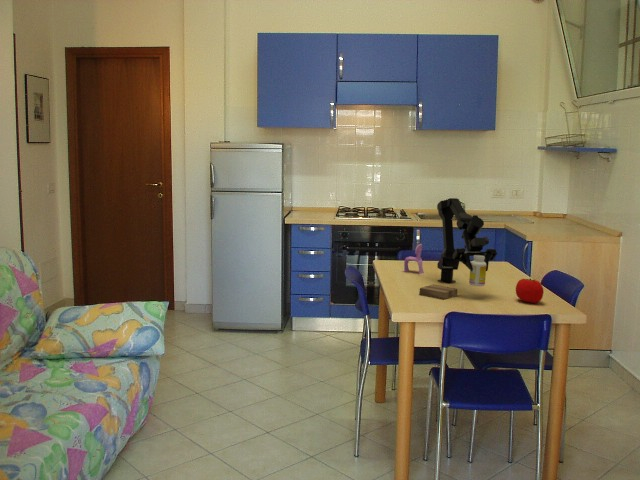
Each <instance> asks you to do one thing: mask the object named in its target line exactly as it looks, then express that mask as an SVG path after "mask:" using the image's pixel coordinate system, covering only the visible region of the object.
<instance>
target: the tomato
mask: <svg viewBox="0 0 640 480" xmlns="http://www.w3.org/2000/svg"><path fill="white" fill-rule="evenodd" d="M515 294H516V296H517V297H518V299H519V300H520V301H522V302H525V303H529V304H537V303H540V302H541V300H542V299H543V296H544V287H543V285H542V283H541V282H540V281H538V280H537V278H536V279H531V278H521V279H519V280H518V281H517V283H516V285H515Z"/></svg>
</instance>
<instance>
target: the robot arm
mask: <svg viewBox="0 0 640 480" xmlns="http://www.w3.org/2000/svg"><path fill="white" fill-rule="evenodd" d="M436 209H437V213H438V215H439V217H440V218H441V221H442V235H443V237H442V238H443V239H442V240H443V250H442V252H441V254H440V258H439V260H438V261H437V264H436V265H437V269H438V270H441V272H440V279H437V282H441V283H445V284H451V283H452V284H453V283H456V280H454V271H458V269H459V265H460V263H462V264H463V265H465V267H467V269H469V271H470V270H471V271H472V270H473V269H472V265H471V262H472V261H471V259H470V257H473V258H474V255H483V256H485V259H484V262H485V263H486V272H488V271H489V263H490V261H494V260H495V258H496V257H497V255H498V251H497V249H496V248H486V251H481V250H484V247H485V246H486V245H487V246H488V245H489V243H490V240H489V237H488V236H484V237H478V236H477V235H478V234H479V233H480V231H481V230H482V228H483V227H484V224H485V221H484V220H483V219H482V218H480V217H478V215H476V214H475V215H474V214H473V215H471V214H469V213H467V212H466V210H465V208H464V207H463V205H462V204H461V202H460V199H459V198H457V197H456V198H455V197H450V198H447V199H443V200H440V201H439V202H438V203H437V205H436ZM454 217H455V218H456V220H457V221H456V226H457V229H458V230H459V231H460V230H462V233H461V234H462V235H461V237H460V238H461V239H463V242H464V244H465V245H464V247H456V249H455V241H454V240H455V239H454V226H453V225H454V224H453V223H454V222H453V218H454Z"/></svg>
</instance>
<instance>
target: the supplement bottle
mask: <svg viewBox="0 0 640 480" xmlns="http://www.w3.org/2000/svg"><path fill="white" fill-rule="evenodd" d="M484 259H485V256H483V255H474V257H473V260H472V261H471V265H472V269H473V270H472V271H471V270H470V269H469V279H468V280H469V281H468V282H469V283H468V284H469V286H472V287H473V286H475V287H484V286H485V285H486V276H487V271H486V263H485V262H484Z"/></svg>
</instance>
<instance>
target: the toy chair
mask: <svg viewBox="0 0 640 480" xmlns="http://www.w3.org/2000/svg"><path fill="white" fill-rule="evenodd" d="M422 249H423V244H422V243H419V244H418V245H417V246H416V247H415V251H414V254H415V255H416V256H415V257H414V256H410V255H409V256H407V257H405V259H404V262H403V266H404V267H403V272H404V273H406V272H409V271H410V269H409V261H413V262H416V263H417V265H418V275H422V274H423V273H424V268H423V260H422V257H421V254H422Z"/></svg>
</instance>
